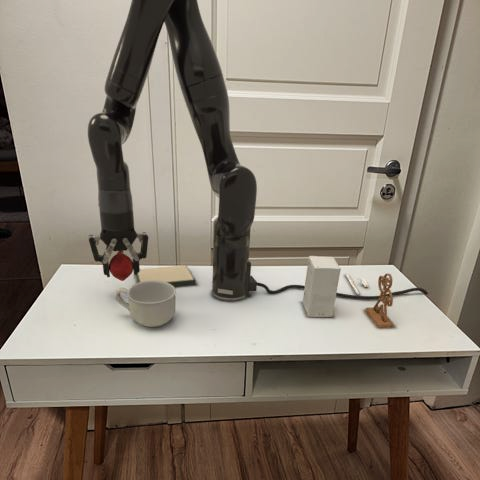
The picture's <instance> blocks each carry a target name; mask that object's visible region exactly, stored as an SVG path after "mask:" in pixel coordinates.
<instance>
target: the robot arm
mask: <svg viewBox="0 0 480 480" xmlns="http://www.w3.org/2000/svg"><path fill="white" fill-rule="evenodd" d="M200 11H201V10H200V7H199V2H198V0H131V3H130V7H129V10H128V14H127V17H126V19H125V23H124V26H123V29H122V32H121V35H120V37H119V40H118V43H117V45H116V48H115V50H114V54H113V57H112V60H111V63H110V66H109V69H108V72H107V77H106V80H105V83H104V93H105V95H106V96H105V100H104V105H103V109H102V111H101V112H98V113H95V114H94V115H93V116H92V117H91V118H90V119H89V121H88V125H87V140H88V145H89V149H90V152H91V155H92V160H93V163H94V164H95V169H96V180H97V197H98V198H97V202H98V211H99V219H100V220H99V221H100V229H101V230H100V233H99V234H95V235H93V234H89V235H88V243H89V246H90V249H91V252H92V253H91V254H92V256H93V260H94V261H95V262H99V263H101V264H102V271H103V275H104V276H106V277H107V278H110V277H111V272H110V270H109V263H110V258H111V256H112V254H113V252H118V251H119V250H122V251H123V252H125V251H128V253H129V254H130V255H131V257H132V262H133V272H132V273H133V275H134V276H136V275H137V273H139V271H140V269H141V267H140V261H141V260H142V259H146V258H147V256H148V246H149V235H148V233H147V232H146V231H144V232H137V231H136V229H135V219H134V218H135V217H134V202H133V194H132V190H131V178H130V177H131V176H130V169H129V165H128V162H126V161H125V159H124V153H123V145H124V144H125V143H126V142H127V141H128V139H129V137H130V135H131V132H132V130H133V125H134V123H135V117H136V112H137V106H138V104H139V103H138V102H139V101H140V98H141V95H142V92H143V89H144V87H145V85H146V81H147V78H148V75H149V72H150V70H151V66H152V63H153V59H154V55H155V52H156V48H157V45H158V40H159V37H160V34H161V31H162V29H163V25H165V29H166V32H167V37H168V40H169V46H170V51H171V56H172V61H173V65H174V70H175V73H176V78H177V81H178V85H179V87H180V90H181V94H182V96H183V100H184V103H185V106H186V108H187V111H188V114H189V116H190V120H191V123H192V125H193V128H194V130H195V133H196V135H197V139H198V141H199V143H200V146H201V149H202V153H203V157H204V161H205V166H206V171H207V175H208V181H209V185H210V189H211V190H212V192H213V193H214V195H215V196H216V197H217V198H218V213H217V217H215V218H214V219H213V224H212V225H213V229H212V230H213V231H212V285H211V288H212V289H211V295H212V296H213V297H214V298H216V299H218V300H221V301H226V302H235V301H240V300H243V299H245V298H247V297H248V298H249V297H250V293H251V292H257V288H258V287H261V288H263V289H264V290H265V291H266V293H268V294H271V295H276V294H279V293H282V292H284V291H287V290H289V289H302V290H304V288H305V285H302V284H289V285H285V286H283V287H281V288H278V289H277V290H271V289H270V288H269V286H268V285H266V284H265V283H263V282H259V281H257V280H256V279H255V277H254V276H253V275H252V262H251V261H250V260H249V259H250V244H251V230H252V229H251V228H252V225H253V223H254V220H255V214H256V205H257V195H258V194H257V193H258V186H257V185H258V183H257V179H256V176H255V174H254V172H253V171H252V170H251V169H250V168H248V167H246V166H244V165H242V164H241V163H240V161H239V158H238V156H237V153H236V149H235V146H234V144H233V140H232V135H231V125H230V124H231V122H230V121H231V115H230V110H231V109H230V99H229V93H228V89H227V85H226V81H225V77H224V73H223V70H222V66H221V63H220V61H219V58H218V54H217V51H216V50H215V47H214V45H213V43H212V40H211V37H210V35H209V33H208V30H207V28H206V26H205V23H204V21H203V18H202V15H201V12H200ZM136 239H138V241H139V243H140V250H139V252H137V250H136V249H135V247H134V245H133V244H134V243H135V241H136ZM100 241H101V242H103V243H104V245H105V248H104V251H103V253H102V255H101V254H99V250H98V245H100ZM391 292H392V291H391ZM413 292H421V293H423V294H424V295H429V292H428V291H427V290H426V289H425V288H422V287H411V288H408V289H404V290H399V291H398V290H397V291H393V292H392V295H393V297H394V296H399V295H404V294H408V293H413ZM386 296H389V298H390V295H389V293H387V294H385V297H386ZM336 297H341V298H346V299H353V300H379V298H380V295H358V294H347V293H342V292H341V293H340V292H337V293H336Z"/></svg>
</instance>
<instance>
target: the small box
mask: <svg viewBox="0 0 480 480" xmlns="http://www.w3.org/2000/svg"><path fill="white" fill-rule="evenodd" d="M306 267H307V268H306V275H305V281H304V286H305V288H304V289H303V296H302V305H303V307H304V310H305V314H306V316H307V317H311V318H332V317H333V315H334V310H335V303H336V299H337V296H336V293H338V286H339V282H340V275H341V274H340V273H341V267H340V266H339V264H338V262H337V261H336V259H335V258H334V256H322V255H321V256H320V255H319V256H318V255H309V256H308V260H307V266H306Z"/></svg>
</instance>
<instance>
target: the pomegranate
mask: <svg viewBox="0 0 480 480" xmlns="http://www.w3.org/2000/svg"><path fill="white" fill-rule="evenodd" d="M109 271H110V275H112V277H113V278H114V279H117V280H119V281H121V282H124V281H126V280H127V279H128V278H129V277H130V276H132V274H133V273H134V272H133V259H132V258H130V257H129V256H128V255H127V254H125V253H124V251H123V250H119V251H117V253H116V254H115V255H113V256H112V257H111V259H109Z"/></svg>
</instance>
